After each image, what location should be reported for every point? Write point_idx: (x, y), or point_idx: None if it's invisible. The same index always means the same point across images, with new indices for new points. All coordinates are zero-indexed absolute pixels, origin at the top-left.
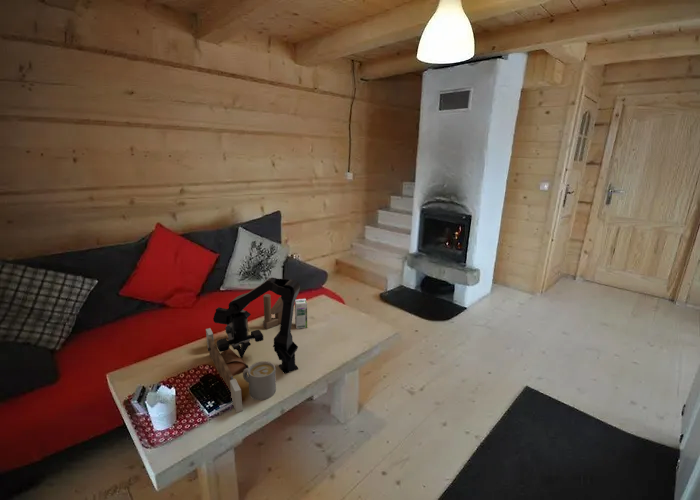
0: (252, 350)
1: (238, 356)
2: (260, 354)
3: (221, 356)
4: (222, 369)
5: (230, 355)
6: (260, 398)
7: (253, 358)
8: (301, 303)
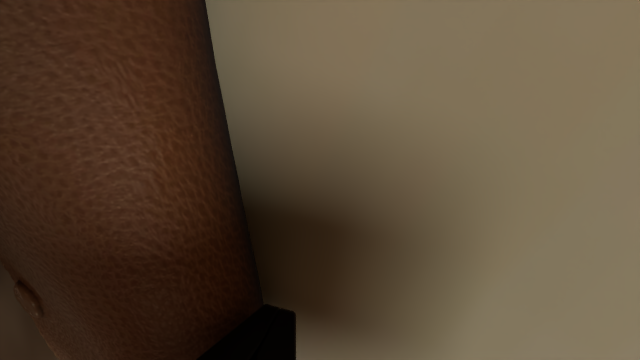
0: (634, 150)
1: None
2: (632, 347)
3: None
4: None
5: (65, 301)
6: None
7: (463, 346)
8: None
